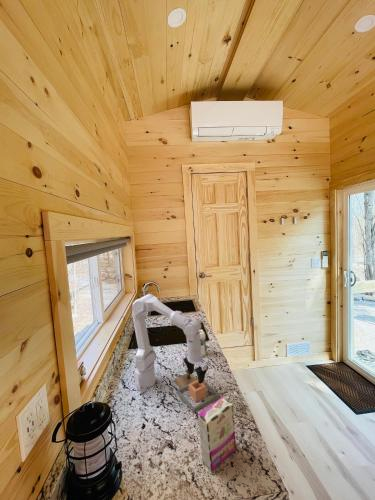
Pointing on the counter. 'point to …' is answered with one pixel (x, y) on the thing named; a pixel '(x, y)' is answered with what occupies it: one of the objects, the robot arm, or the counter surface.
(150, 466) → the counter surface
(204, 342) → the syrup box
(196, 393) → the collar
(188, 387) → the tray
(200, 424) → the candy bar box
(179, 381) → the stake board
